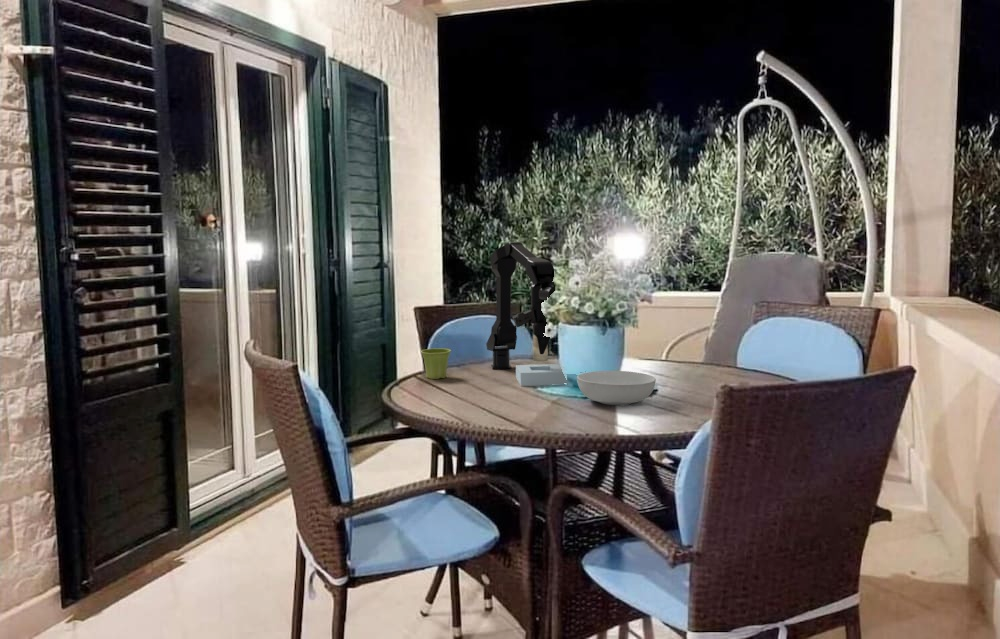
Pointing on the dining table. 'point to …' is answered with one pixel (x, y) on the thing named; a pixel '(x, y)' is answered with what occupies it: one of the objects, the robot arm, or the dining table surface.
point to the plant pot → (436, 362)
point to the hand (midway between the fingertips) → (540, 353)
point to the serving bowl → (616, 386)
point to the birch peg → (536, 353)
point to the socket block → (540, 374)
